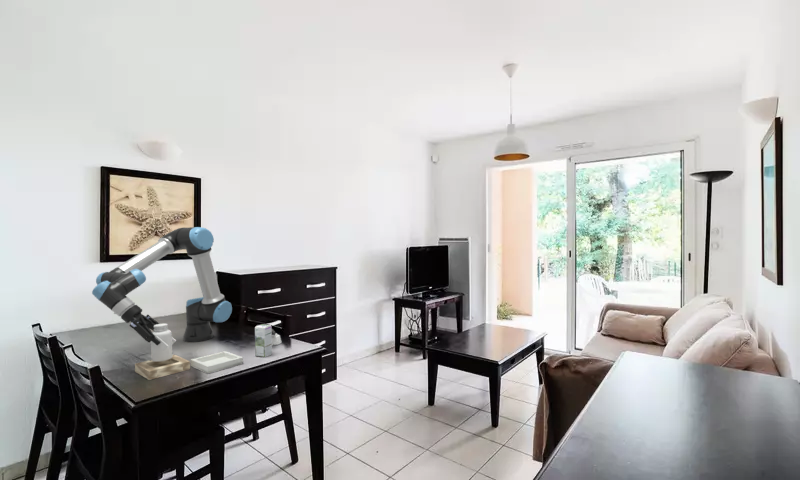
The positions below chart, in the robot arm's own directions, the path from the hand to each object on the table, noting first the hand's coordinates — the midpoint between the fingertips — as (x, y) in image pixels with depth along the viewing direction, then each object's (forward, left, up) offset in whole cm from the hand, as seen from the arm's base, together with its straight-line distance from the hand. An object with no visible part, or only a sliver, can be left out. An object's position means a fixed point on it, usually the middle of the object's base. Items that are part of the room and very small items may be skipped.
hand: (170, 345), depth 172 cm
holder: (+2, -2, -11) cm, 11 cm away
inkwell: (-49, +2, -11) cm, 50 cm away
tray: (-16, +10, -11) cm, 21 cm away
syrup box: (-37, +14, -11) cm, 41 cm away
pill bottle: (+3, -2, -6) cm, 7 cm away
